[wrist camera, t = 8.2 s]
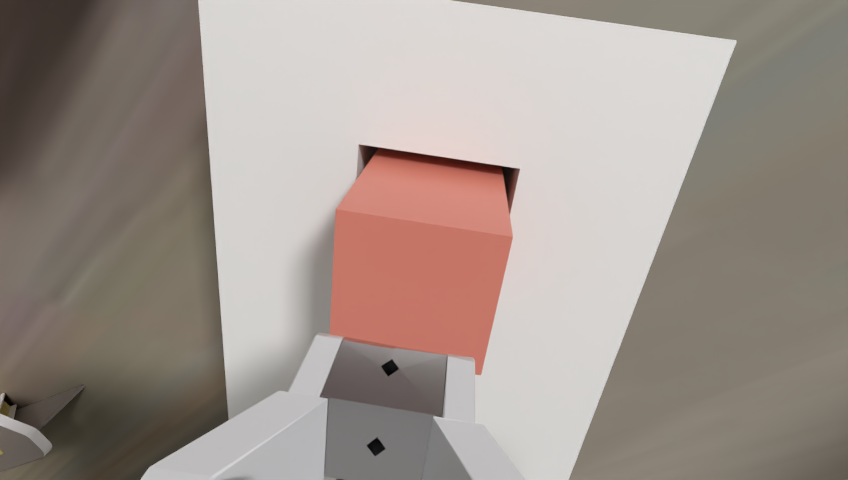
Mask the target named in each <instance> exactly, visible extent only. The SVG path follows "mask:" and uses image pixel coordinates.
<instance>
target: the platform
mask: <svg viewBox="0 0 848 480" xmlns="http://www.w3.org/2000/svg"><path fill="white" fill-rule="evenodd" d="M84 387H85V386H84V385H81V386H79V387H76V388H73V389H71V390H68V391H65V392H62V393H60V394H57V395H54V396H52V397H49V398H46V399H44V400H41V401H38V402H36V403H33V404H30V405H28V406H25V407H22V408H20V409H17V410H16V407H17V405H13V406H9V405H8V404H7V403H6V402H5V401H4V397H5V393H3V394H1V395H0V472H1V471H4V470H7V469H10V468H14V467H17V466H20V465H23V464H26V463H29V462H32V461H35V460H38V459H41V458H43V457H44V456H45V455H46V454H47V453H48V452H49V451H50V450H51V449H52V444H51V442H50V441H49V440H48V439H47V438H46V437H45V436H44V435H43V434H42V433H41V432H40V430H41V429H42V428H43V427H44V426H45V425H46V424H47V423H48V422H49V421H50V420H51V419H52V418H53V417H54V416H55V415H56V414H57V413H58V412H59V411H60V410H61V409H63V408H64V407H65V406H66V405H67V404H68V403H69V402H70V401H71V400H72V399H73V398H74V397H75V396H76V395H77V394H78V393H79V392H80V391H81V390H82V389H83V388H84Z"/></svg>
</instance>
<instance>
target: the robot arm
mask: <svg viewBox="0 0 848 480" xmlns="http://www.w3.org/2000/svg"><path fill="white" fill-rule="evenodd" d="M324 477H329V478H336V479H343V480H525V479H524V478H523V477H522V475H521V474H520V473H519V471H518V470H517V469H516V467H515V466H514V465H513V463H512V462H511V461H510V459H509V458H508V457H507V455H506V454H505V453H504V451H503V450H502V449H501V447H500V446H499V445H498V443H497V442H496V441H495V439H494V438H493V437H492V435H491V434H490V433H489V431H488V430H487V429H486V427H485V426H484V425H482V424H477V423H475V360H474V358H473V357H467V356H459V355H452V354H447V355H446V354H440V353H434V352H428V351H421V350H415V349H409V348H402V347H396V346H392V345H386V344H381V343H376V342H370V341H365V340H360V339H354V338H349V337H345V338H344V337H342V336H336V335H331V334H325V333H318V334H317V335H316V336H315V337H314V338H313V340H312V342H311V344H310V346H309V348H308V350H307V352H306V354H305V357H304V359H303V361H302V363H301V365H300V367H299V369H298V371H297V373H296V375H295V377H294V379H293V381H292V383H291V385H290V387H289V389H288V391H287V392H285V391H277V392H276V393H274V394H272V395H271V396H269V397H267V398H266V399H264V400H262V401H260V402H259V403H257V404H255V405H254V406H252V407H250V408H249V409H247V410H245V411H244V412H242V413H240V414H238V415H237V416H235V417H233V418H232V419H230V420H228V421H227V422H225V423H223V424H221V425H220V426H218V427H216V428H215V429H213V430H211V431H210V432H208V433H206V434H205V435H203V436H201V437H199V438H198V439H196V440H194V441H193V442H191V443H189V444H188V445H186V446H184V447H182V448H181V449H179V450H177V451H176V452H174V453H172V454H171V455H169V456H167V457H166V458H164V459H162V460H160V461H159V462H157V463H155V464H154V465H152V466H150V467H149V468H148V470H147V471H146V472H145V474H144V475H143V477H142V478H141V479H140V480H324Z"/></svg>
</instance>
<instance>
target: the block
mask: <svg viewBox="0 0 848 480" xmlns="http://www.w3.org/2000/svg"><path fill="white" fill-rule="evenodd" d="M198 2H199V16H200V30H201V44H202V58H203V72H204V85H205V99H206V113H207V127H208V141H209V155H210V169H211V183H212V196H213V210H214V224H215V238H216V252H217V266H218V280H219V294H220V308H221V321H222V335H223V349H224V363H225V377H226V391H227V405H228V419H229V420H230V419H232V418H233V417H235V416H237V415H238V414H240V413H242V412H244V411H245V410H247V409H249V408H250V407H252V406H254V405H255V404H257V403H259V402H260V401H262V400H264V399H266V398H267V397H269V396H271V395H272V394H274V393H276V392H277V391H285V392H287V391H288V389H289V387H290V385H291V383H292V381H293V379H294V377H295V375H296V373H297V371H298V369H299V367H300V365H301V363H302V361H303V359H304V357H305V354H306V352H307V350H308V348H309V346H310V344H311V342H312V340H313V338H314V337H315V336H316V335H317V334H318V333H325V334H330V315H331V295H332V275H333V254H334V234H335V214H336V208H337V207H338V205H339V204H340V202H341V201H342V200H343V198H344V197H345V195H346V194H347V192H348V191H349V190H350V188H351V187H352V185H353V184H354V183H355V181H356V180H357V178H358V177H359V175H360V174H361V173H362V171H363V170H364V168H365V167H366V166H367V164H368V163H369V161H370V160H371V158H372V157H373V156H374V154H375V153H376V151H377V150H378V149H379V147H380V148H387V149H393V150H400V151H406V152H413V153H420V154H426V155H433V156H439V157H446V158H453V159H459V160H466V161H472V162H479V163H485V164H492V165H499V166H502V171H503V177H504V184H505V190H506V196H507V202H508V208H509V215H510V221H511V227H512V233H513V239H512V244H511V248H510V252H509V257H508V261H507V265H506V270H505V274H504V278H503V283H502V287H501V291H500V296H499V300H498V304H497V308H496V313H495V317H494V321H493V326H492V330H491V334H490V339H489V343H488V347H487V352H486V356H485V360H484V365H483V369H482V373H481V375H475V423H477V424H482V425H484V426H485V427H486V429H487V430H488V431H489V433H490V434H491V435H492V437H493V438H494V439H495V441H496V442H497V443H498V445H499V446H500V447H501V449H502V450H503V451H504V453H505V454H506V455H507V457H508V458H509V459H510V461H511V462H512V463H513V465H514V466H515V467H516V469H517V470H518V471H519V473H520V474H521V475H522V477H523V478H524V479H525V480H569V477H570V475H571V472H572V469H573V467H574V464H575V462H576V459H577V456H578V454H579V451H580V448H581V446H582V443H583V441H584V438H585V435H586V433H587V430H588V428H589V425H590V422H591V420H592V417H593V415H594V412H595V409H596V407H597V404H598V402H599V399H600V396H601V394H602V391H603V389H604V386H605V383H606V381H607V378H608V375H609V373H610V370H611V368H612V365H613V362H614V360H615V357H616V355H617V352H618V349H619V347H620V344H621V342H622V339H623V336H624V334H625V331H626V329H627V326H628V323H629V321H630V318H631V315H632V313H633V310H634V308H635V305H636V302H637V300H638V297H639V295H640V292H641V289H642V287H643V284H644V282H645V279H646V276H647V274H648V271H649V269H650V266H651V263H652V261H653V258H654V255H655V253H656V250H657V248H658V245H659V242H660V240H661V237H662V235H663V232H664V229H665V227H666V224H667V222H668V219H669V216H670V214H671V211H672V209H673V206H674V203H675V201H676V198H677V195H678V193H679V190H680V188H681V185H682V182H683V180H684V177H685V175H686V172H687V169H688V167H689V164H690V162H691V159H692V156H693V154H694V151H695V149H696V146H697V143H698V141H699V138H700V136H701V133H702V130H703V128H704V125H705V122H706V120H707V117H708V115H709V112H710V109H711V107H712V104H713V102H714V99H715V96H716V94H717V91H718V89H719V86H720V83H721V81H722V78H723V76H724V73H725V70H726V68H727V65H728V62H729V60H730V57H731V55H732V52H733V49H734V47H735V44H736V42H737V41H735V40H728V39H721V38H714V37H707V36H700V35H693V34H686V33H678V32H671V31H664V30H657V29H650V28H643V27H636V26H629V25H622V24H615V23H608V22H600V21H593V20H586V19H579V18H572V17H565V16H558V15H551V14H544V13H537V12H529V11H522V10H515V9H508V8H501V7H494V6H487V5H480V4H473V3H466V2H458V1H451V0H198ZM324 480H343V479H336V478H329V477H324Z"/></svg>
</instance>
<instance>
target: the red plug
mask: <svg viewBox="0 0 848 480" xmlns="http://www.w3.org/2000/svg"><path fill="white" fill-rule="evenodd" d="M512 239H513V233H512V227H511V221H510V215H509V208H508V202H507V196H506V190H505V184H504V177H503V171H502V166H499V165H492V164H485V163H479V162H472V161H466V160H459V159H453V158H446V157H439V156H433V155H426V154H420V153H413V152H406V151H400V150H393V149H387V148H380V147H379V149H378V150H377V151H376V153H375V154H374V156H373V157H372V158H371V160H370V161H369V163H368V164H367V166H366V167H365V168H364V170H363V171H362V173H361V174H360V175H359V177H358V178H357V180H356V181H355V183H354V184H353V185H352V187H351V188H350V190H349V191H348V192H347V194H346V195H345V197H344V198H343V200H342V201H341V202H340V204H339V205H338V207H337V208H336V214H335V234H334V254H333V275H332V295H331V315H330V334H331V335H336V336H342V337H344V338H345V337H349V338H354V339H360V340H365V341H370V342H376V343H381V344H386V345H392V346H396V347H402V348H409V349H415V350H421V351H428V352H434V353H440V354H446V355H447V354H452V355H459V356H467V357H473V358H474V360H475V375H481V373H482V369H483V365H484V360H485V356H486V352H487V347H488V343H489V339H490V334H491V330H492V326H493V321H494V317H495V313H496V308H497V304H498V300H499V296H500V291H501V287H502V283H503V278H504V274H505V270H506V265H507V261H508V257H509V252H510V248H511V244H512Z"/></svg>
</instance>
